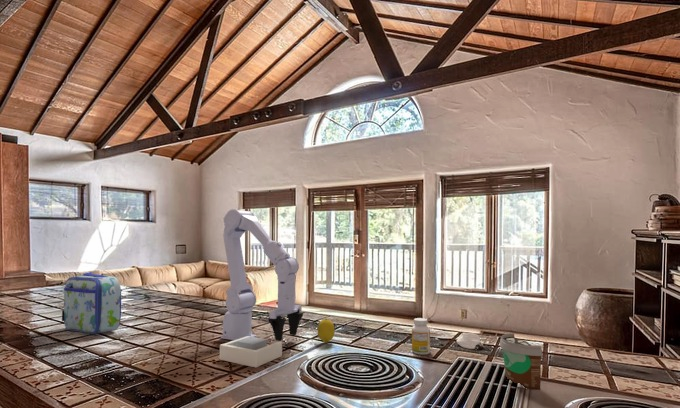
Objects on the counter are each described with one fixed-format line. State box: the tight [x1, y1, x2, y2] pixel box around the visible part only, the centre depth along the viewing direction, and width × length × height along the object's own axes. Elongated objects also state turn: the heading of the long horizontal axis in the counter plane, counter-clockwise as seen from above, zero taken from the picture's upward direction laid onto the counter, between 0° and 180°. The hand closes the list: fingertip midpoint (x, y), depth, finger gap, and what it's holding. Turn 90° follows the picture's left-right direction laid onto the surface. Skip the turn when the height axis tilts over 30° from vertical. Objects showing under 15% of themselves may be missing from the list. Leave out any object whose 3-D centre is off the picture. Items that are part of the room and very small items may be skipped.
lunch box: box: [61, 272, 122, 335], centre depth 141 cm, size 26×11×21 cm, turn 58°
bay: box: [219, 336, 283, 368], centre depth 109 cm, size 14×11×4 cm
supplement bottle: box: [411, 317, 431, 356], centre depth 114 cm, size 5×5×10 cm
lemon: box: [317, 317, 336, 344], centre depth 124 cm, size 6×6×8 cm
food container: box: [499, 332, 543, 391], centre depth 91 cm, size 12×6×10 cm, turn 5°
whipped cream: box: [456, 332, 484, 350], centre depth 121 cm, size 8×7×5 cm
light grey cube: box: [237, 336, 268, 350], centre depth 109 cm, size 6×6×5 cm
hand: (286, 337), depth 123 cm, fingers open, 7 cm apart
